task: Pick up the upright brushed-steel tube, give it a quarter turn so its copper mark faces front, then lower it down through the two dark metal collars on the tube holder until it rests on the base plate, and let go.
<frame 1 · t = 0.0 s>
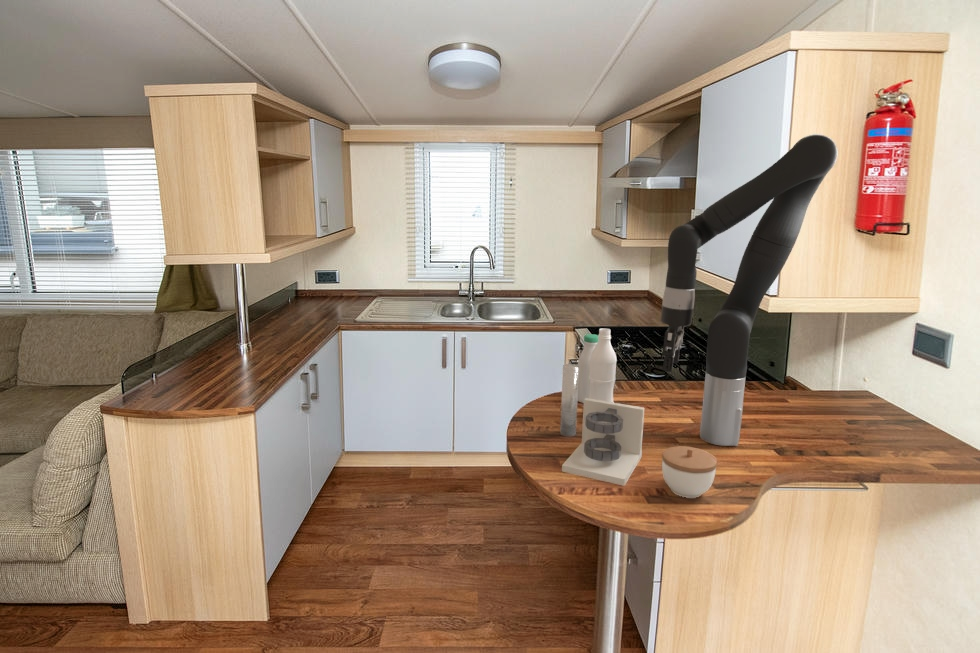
hand: (670, 366, 151), 17 cm above the table, tool pointing down, fingers open, 8 cm apart
milk bottle: (588, 400, 176), on the table
water bottle: (599, 418, 163), on the table
lidded jar: (686, 491, 123), on the table
tube holder: (601, 465, 133), on the table
steel tube: (568, 433, 151), on the table
collars: (605, 433, 133), point 7 cm above the table
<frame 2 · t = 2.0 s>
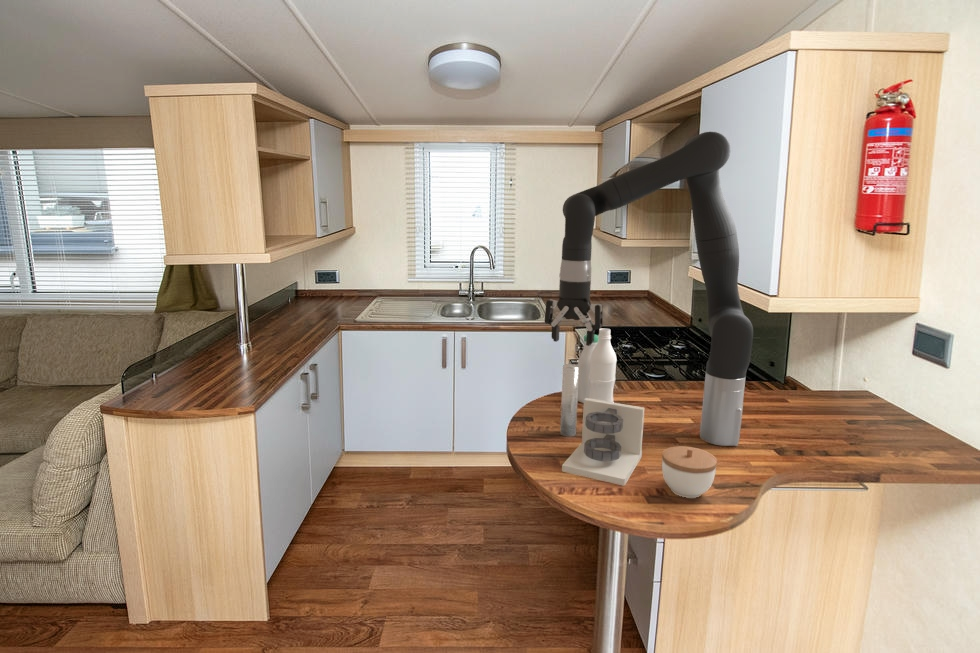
hand: (572, 342, 146), 24 cm above the table, tool pointing down, fingers open, 8 cm apart
nothing on the table moved.
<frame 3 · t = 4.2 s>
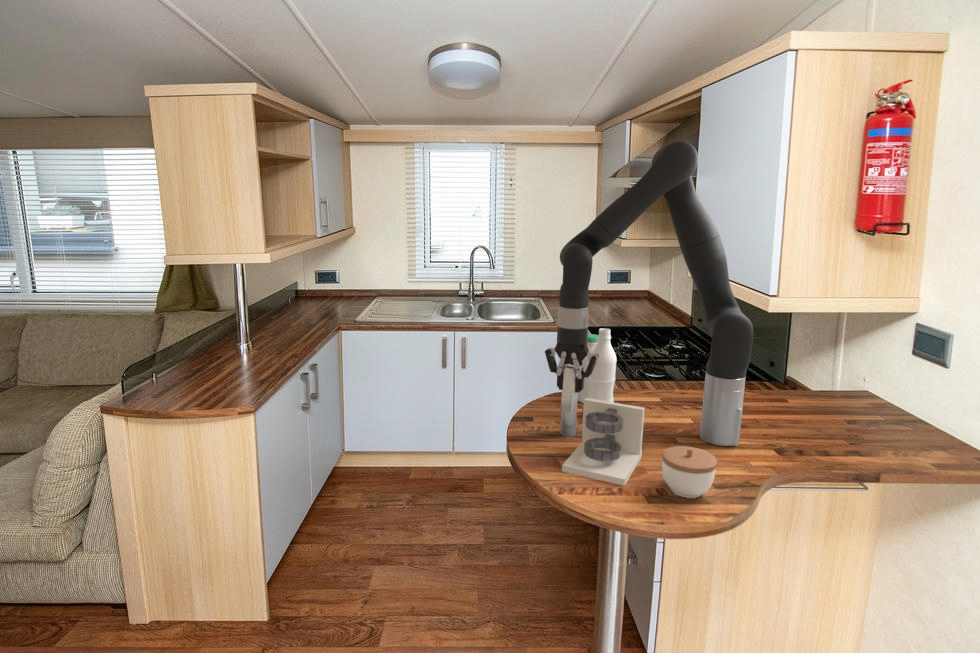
hand: (569, 390, 149), 12 cm above the table, tool pointing down, fingers closed on steel tube, 4 cm apart
steel tube: (567, 433, 151), on the table, touching gripper
everything else where it was.
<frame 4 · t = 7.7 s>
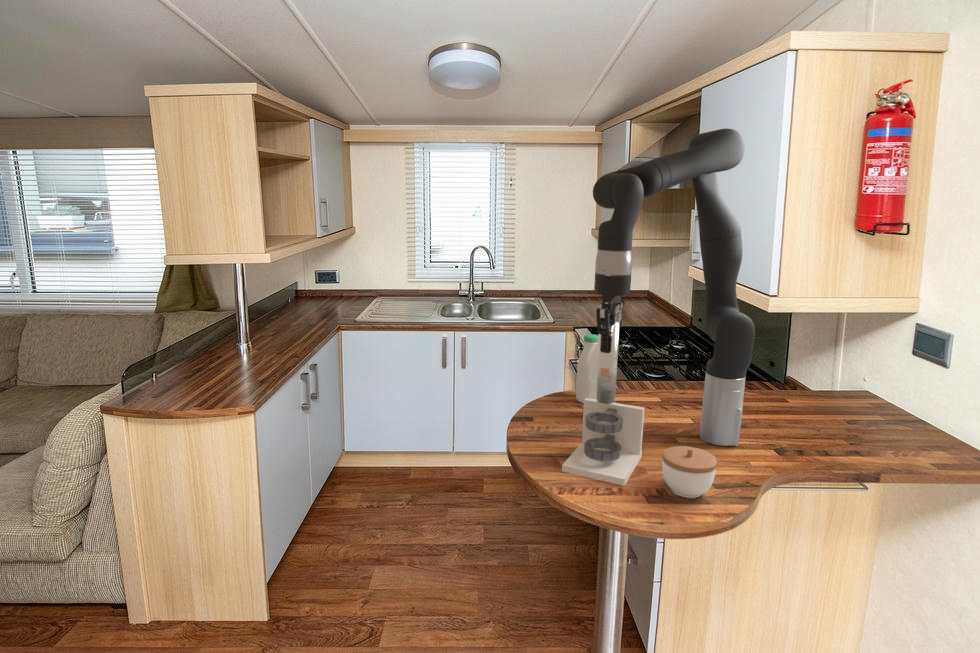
hand: (608, 349, 128), 27 cm above the table, tool pointing down, fingers closed on steel tube, 4 cm apart
steel tube: (605, 400, 130), point 16 cm above the table, touching gripper
everything else where it was.
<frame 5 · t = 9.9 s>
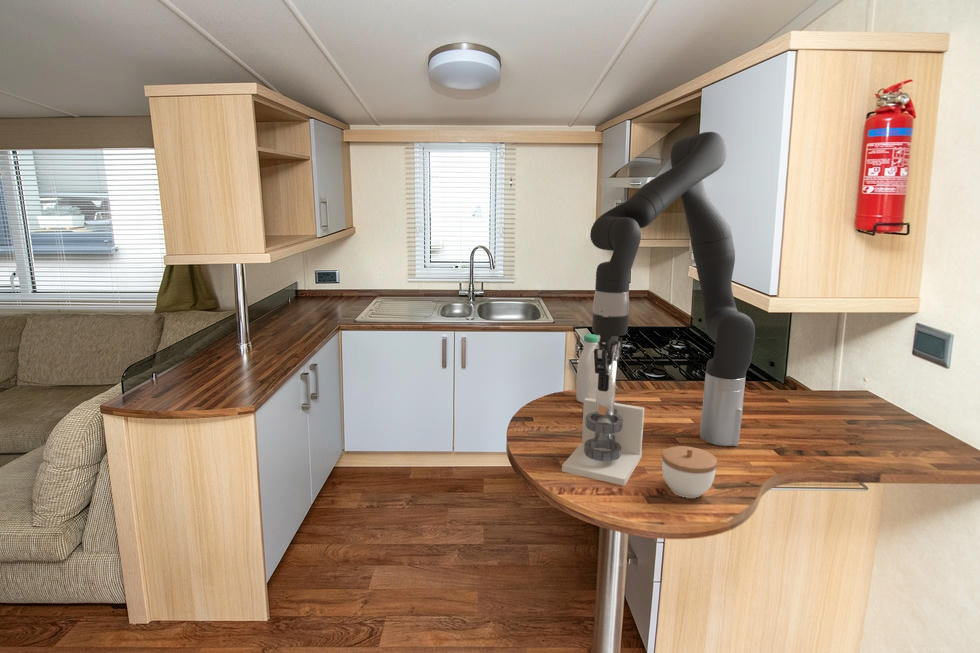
hand: (606, 387, 129), 19 cm above the table, tool pointing down, fingers closed on steel tube, 4 cm apart
steel tube: (603, 437, 132), point 7 cm above the table, touching gripper
everything else where it was.
when the fingers open (15 cm above the table, at t = 11.6 s): steel tube drops 1 cm, resting on tube holder.
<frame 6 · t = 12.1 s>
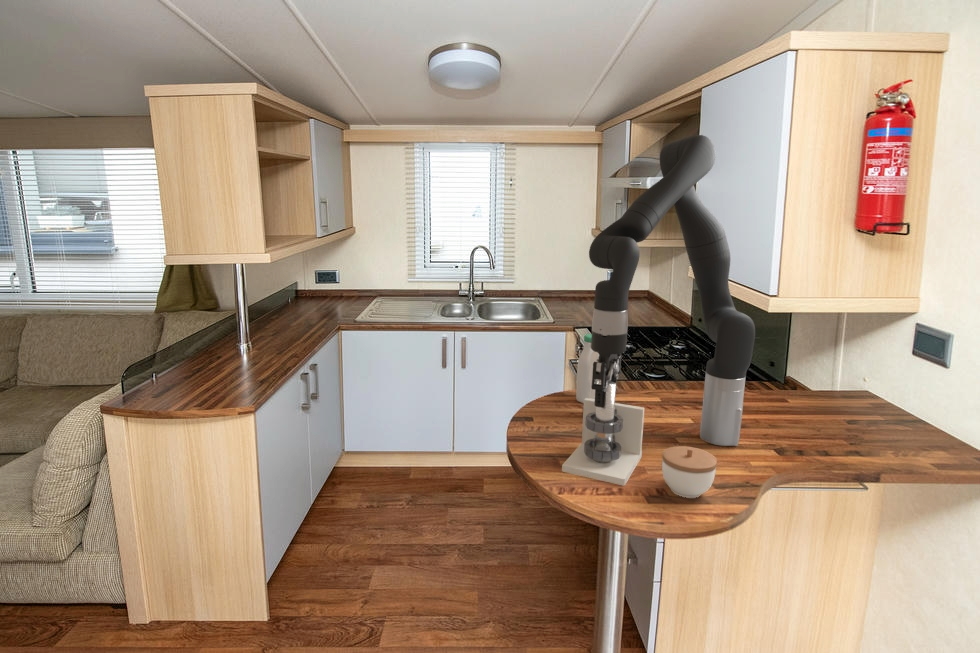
hand: (605, 400, 130), 16 cm above the table, tool pointing down, fingers open, 8 cm apart
steel tube: (602, 459, 133), point 2 cm above the table, touching tube holder
everything else where it was.
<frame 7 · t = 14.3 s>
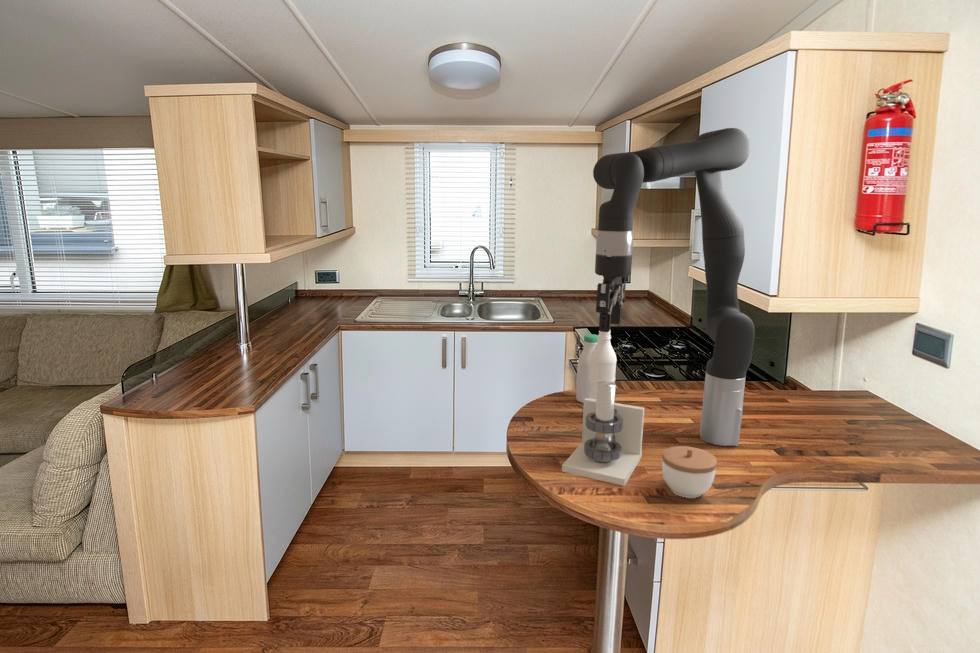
hand: (609, 327, 127), 32 cm above the table, tool pointing down, fingers open, 8 cm apart
nothing on the table moved.
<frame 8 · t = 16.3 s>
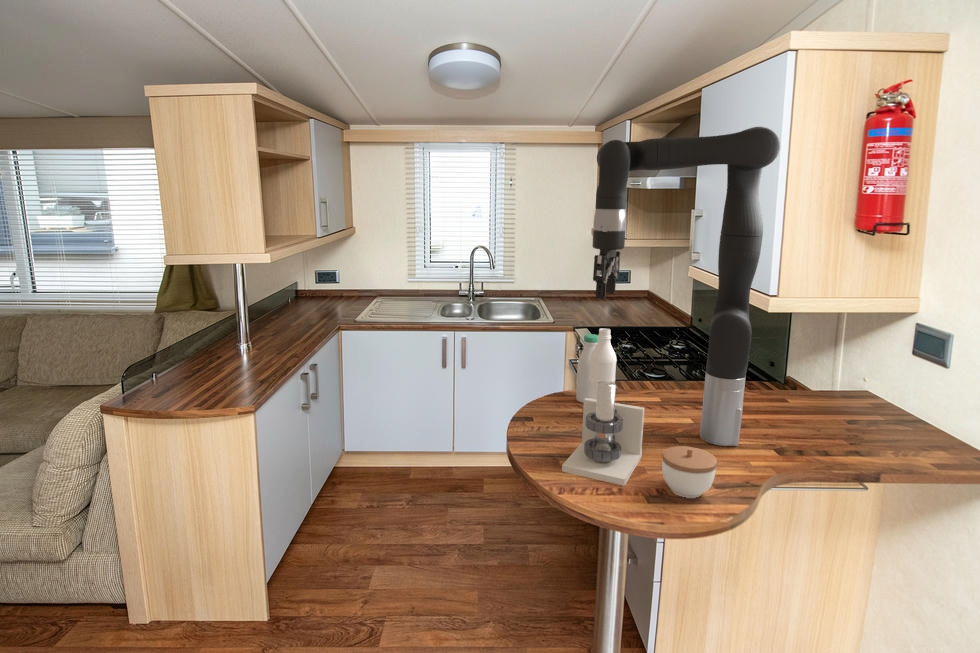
hand: (605, 295, 143), 36 cm above the table, tool pointing down, fingers open, 8 cm apart
nothing on the table moved.
at the end: steel tube 0.0 cm off-centre on the collars, point 1.5 cm above the collars's base; steel tube tilted 0°; the gripper is holding nothing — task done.
